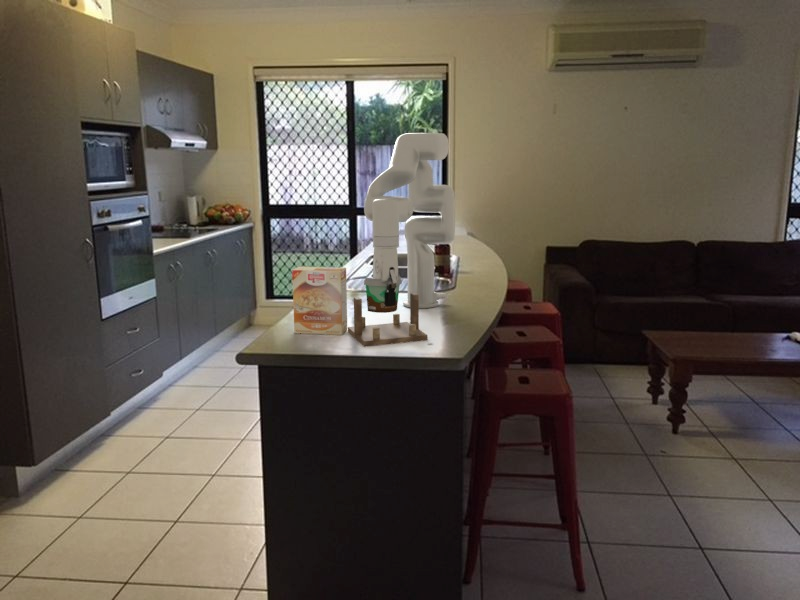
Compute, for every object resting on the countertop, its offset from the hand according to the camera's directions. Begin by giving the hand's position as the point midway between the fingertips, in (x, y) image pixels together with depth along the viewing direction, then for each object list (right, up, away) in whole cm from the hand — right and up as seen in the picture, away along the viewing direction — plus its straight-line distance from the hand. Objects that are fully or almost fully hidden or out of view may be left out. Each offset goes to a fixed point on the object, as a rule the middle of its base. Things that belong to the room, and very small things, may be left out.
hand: (386, 302), depth 194 cm
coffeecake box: (-20, -9, +8) cm, 23 cm away
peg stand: (0, -10, +2) cm, 10 cm away
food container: (0, -3, 0) cm, 3 cm away
